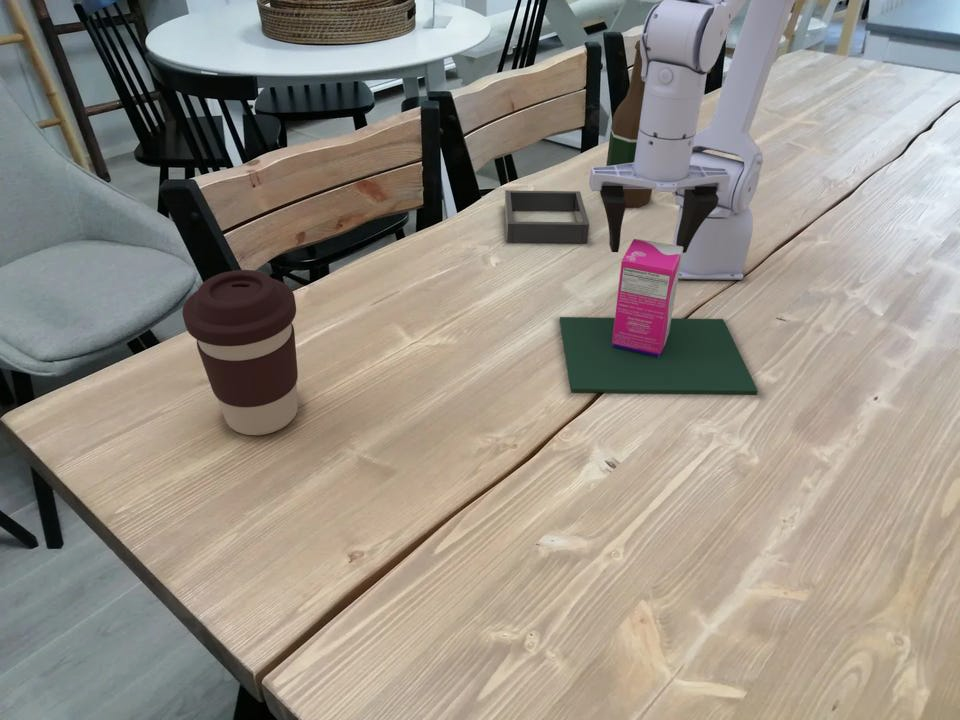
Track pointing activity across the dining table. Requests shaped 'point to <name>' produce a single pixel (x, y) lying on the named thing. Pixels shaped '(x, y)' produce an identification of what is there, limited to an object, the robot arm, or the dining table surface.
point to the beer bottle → (629, 131)
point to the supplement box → (646, 296)
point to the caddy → (546, 230)
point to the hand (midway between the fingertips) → (647, 248)
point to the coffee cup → (247, 347)
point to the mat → (655, 360)
